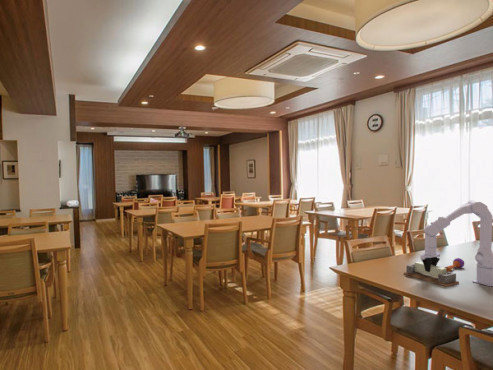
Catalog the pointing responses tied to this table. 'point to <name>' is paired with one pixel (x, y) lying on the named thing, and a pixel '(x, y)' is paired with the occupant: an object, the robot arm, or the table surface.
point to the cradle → (441, 280)
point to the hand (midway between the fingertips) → (430, 270)
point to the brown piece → (455, 264)
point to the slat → (433, 269)
